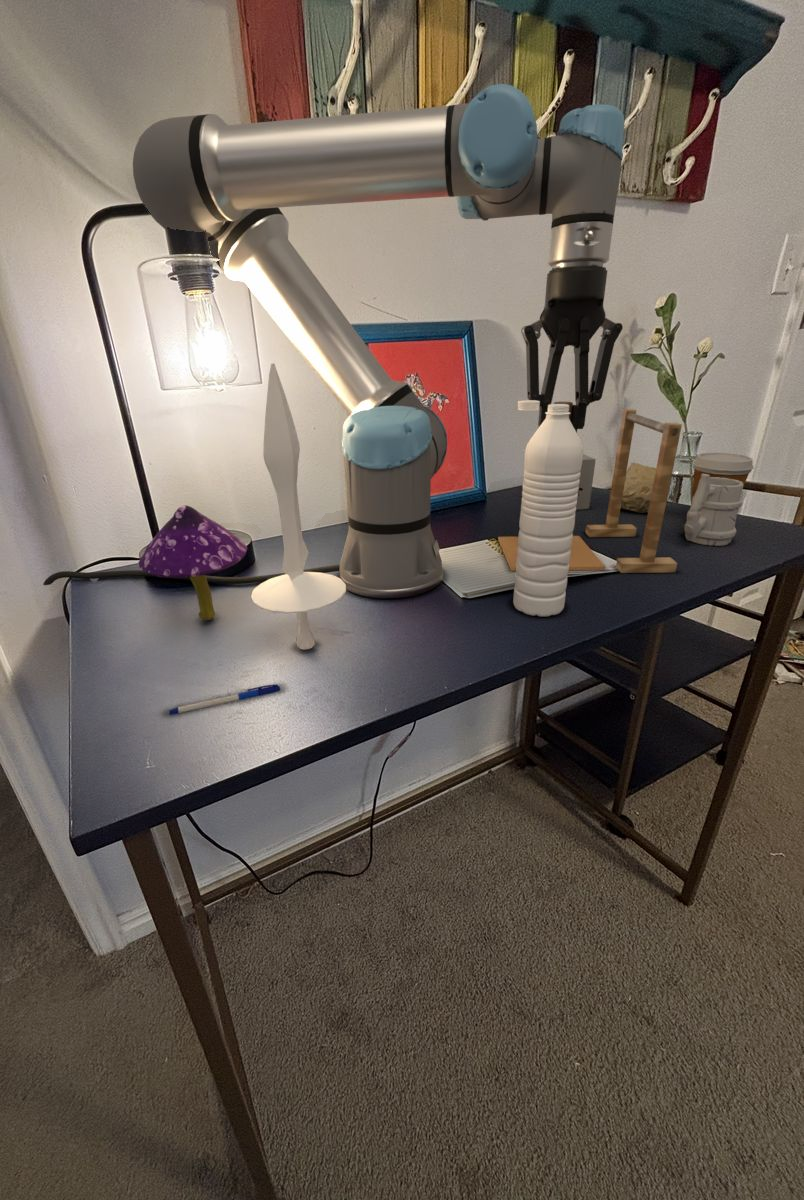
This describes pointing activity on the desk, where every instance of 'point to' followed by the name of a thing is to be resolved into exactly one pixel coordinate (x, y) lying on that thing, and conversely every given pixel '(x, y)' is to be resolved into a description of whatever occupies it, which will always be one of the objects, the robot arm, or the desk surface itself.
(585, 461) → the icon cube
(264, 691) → the ballpoint pen
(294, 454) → the sculpture
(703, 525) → the mug
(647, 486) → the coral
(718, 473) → the disposable coffee cup
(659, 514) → the rail stand
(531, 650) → the desk surface
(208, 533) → the decorative mushroom
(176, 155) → the robot arm
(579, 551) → the cork mat
